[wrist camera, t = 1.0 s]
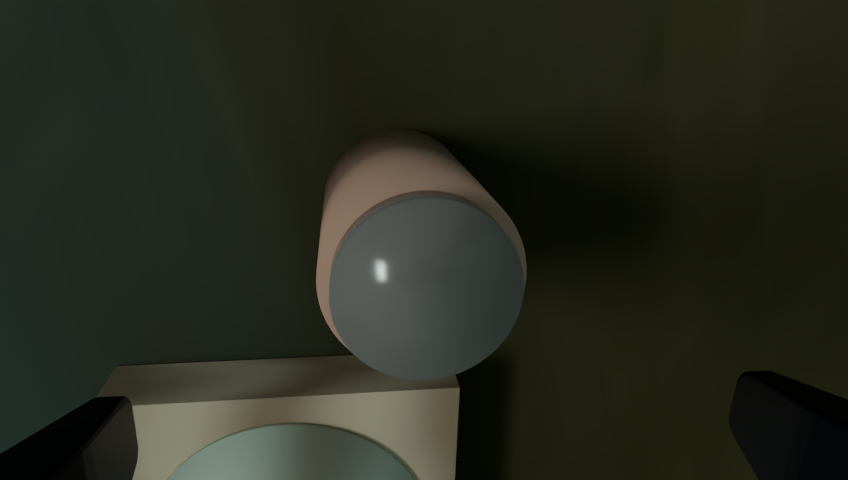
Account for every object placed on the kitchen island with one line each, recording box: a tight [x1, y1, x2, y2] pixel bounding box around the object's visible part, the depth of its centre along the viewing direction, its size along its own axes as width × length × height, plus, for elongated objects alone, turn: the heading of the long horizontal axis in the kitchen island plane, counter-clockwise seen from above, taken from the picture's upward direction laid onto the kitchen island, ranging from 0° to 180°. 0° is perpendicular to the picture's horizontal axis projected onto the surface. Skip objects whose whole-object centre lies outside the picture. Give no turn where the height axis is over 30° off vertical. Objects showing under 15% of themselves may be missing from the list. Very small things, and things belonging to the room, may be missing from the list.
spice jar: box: [316, 129, 527, 380], centre depth 17 cm, size 5×5×8 cm
